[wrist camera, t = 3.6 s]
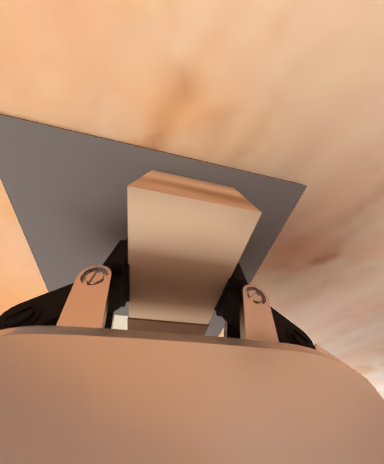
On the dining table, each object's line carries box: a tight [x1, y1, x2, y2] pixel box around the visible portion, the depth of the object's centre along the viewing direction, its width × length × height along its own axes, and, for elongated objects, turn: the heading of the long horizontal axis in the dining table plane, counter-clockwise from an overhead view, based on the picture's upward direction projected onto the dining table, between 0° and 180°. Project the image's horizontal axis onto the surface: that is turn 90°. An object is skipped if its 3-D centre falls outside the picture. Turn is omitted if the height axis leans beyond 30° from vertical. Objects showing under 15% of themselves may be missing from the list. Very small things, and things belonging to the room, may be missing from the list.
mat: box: [0, 114, 307, 337], centre depth 15 cm, size 18×26×1 cm
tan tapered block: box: [127, 170, 262, 336], centre depth 9 cm, size 10×5×4 cm, turn 168°
